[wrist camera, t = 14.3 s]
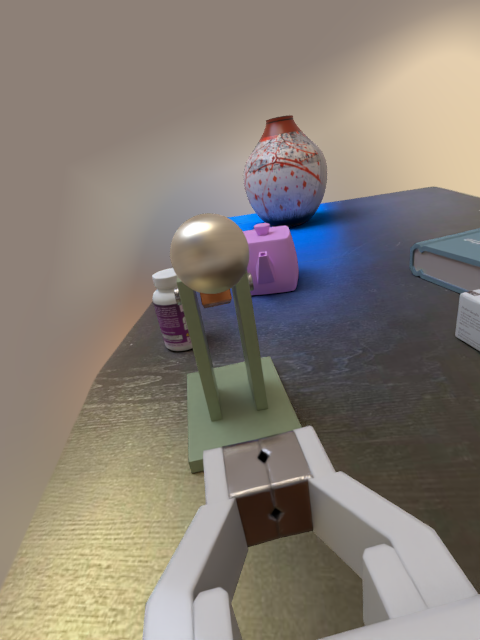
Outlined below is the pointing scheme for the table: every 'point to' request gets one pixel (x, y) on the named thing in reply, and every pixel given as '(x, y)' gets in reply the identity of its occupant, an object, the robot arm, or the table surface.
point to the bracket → (231, 384)
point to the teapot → (271, 259)
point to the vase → (285, 174)
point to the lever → (210, 257)
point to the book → (449, 261)
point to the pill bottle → (170, 312)
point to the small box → (469, 318)
